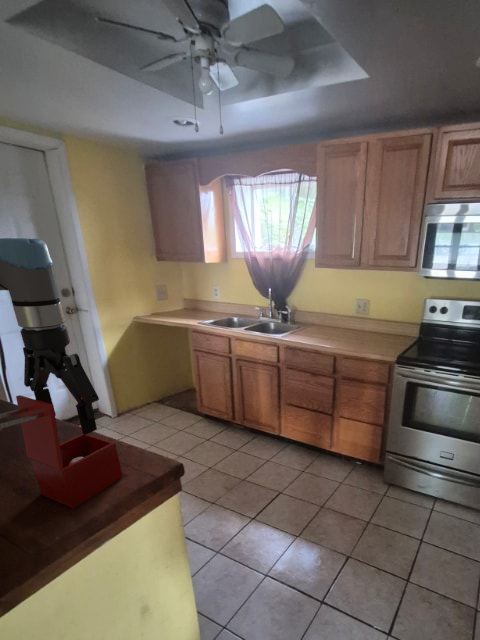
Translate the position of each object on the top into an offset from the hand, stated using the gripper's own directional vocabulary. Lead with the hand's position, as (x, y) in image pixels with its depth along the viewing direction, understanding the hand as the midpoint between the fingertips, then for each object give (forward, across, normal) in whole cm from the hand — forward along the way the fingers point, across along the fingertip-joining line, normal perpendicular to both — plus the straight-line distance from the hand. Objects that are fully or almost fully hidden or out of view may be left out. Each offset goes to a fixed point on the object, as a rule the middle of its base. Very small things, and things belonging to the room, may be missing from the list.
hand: (68, 424), depth 79 cm
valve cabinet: (+15, -2, +1) cm, 15 cm away
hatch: (-2, -2, +6) cm, 7 cm away
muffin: (+14, -2, +1) cm, 15 cm away
